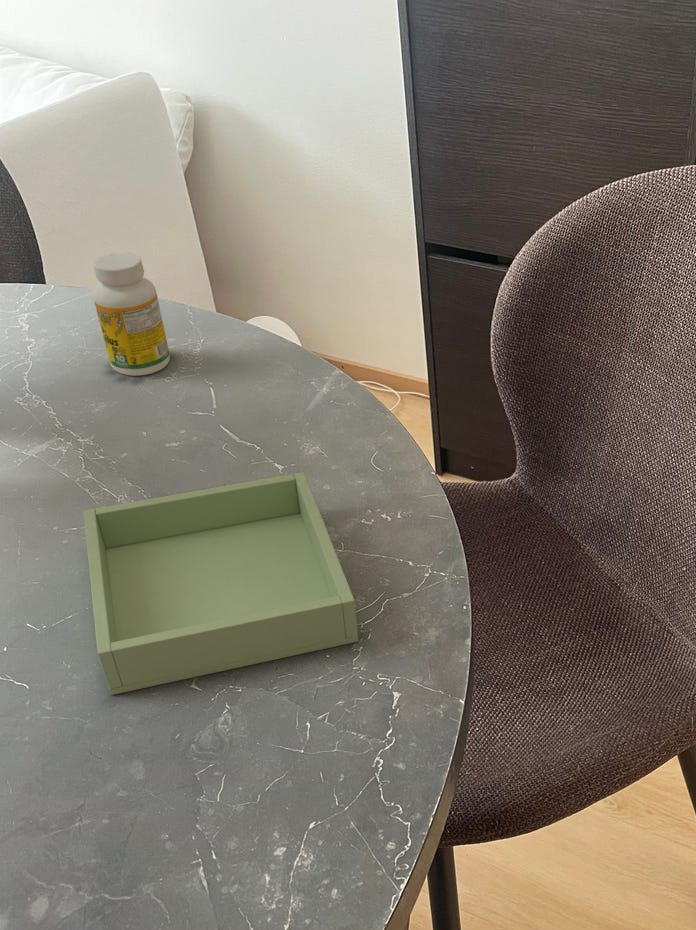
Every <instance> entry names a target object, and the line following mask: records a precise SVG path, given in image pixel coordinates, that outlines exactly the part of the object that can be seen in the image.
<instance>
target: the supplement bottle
mask: <svg viewBox="0 0 696 930" xmlns="http://www.w3.org/2000/svg"><path fill="white" fill-rule="evenodd" d="M93 270H94V273H95V274H94V275H95V277H96V279H97V281H98V284H97V285H96V286H95V287H94V289H93V294H92V295H93V302H94V306H95V309H96V310H95V311H96V314H97V318H98V321H99V324H100V329H101V332H102V336H103V341H104V345H105V348H106V353H107V356H108V360H109V364H110V366H111V368H112V369H113V371H115V372H117V373H119V374H121V375H126V376H130V377H131V376H133V377H135V376H136V377H137V376H146V375H147V376H148V375H151V374H154V373H157V372H159V371H161V370H162V369H164V368H165V367H166V366H167V365H168V364H169V362H170V359H171V355H170V354H171V353H170V349H169V345H168V340H167V335H166V331H165V326H164V322H163V317H162V312H161V307H160V303H159V298H158V293H157V289H156V286H155V284H154V283H152V281H151V280H149V279H148V278H147V277H144V276H145V268H144V265H143V262H142V258H141V256H140V255H138V254H135V253H131V252H112V253H107V254H104V255H101V256H99V257H97V258H96V259H95V260H94V261H93Z"/></svg>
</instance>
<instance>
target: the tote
mask: <svg viewBox="0 0 696 930" xmlns="http://www.w3.org/2000/svg"><path fill="white" fill-rule="evenodd" d="M82 514H83V521H84V523H83V524H84V531H85V541H86V551H87V560H88V572H89V581H90V591H91V601H92V611H93V622H94V630H95V641H96V650H97V652H96V653H97V656H98V659H99V662H100V665H101V669H102V672H103V675H104V677H105V681H106V684H107V687H108V689H109V693H110V695H111V696H115V695H119V694H122V693H128V692H133V691H137V690H142V689H147V688H150V687H156V686H160V685H164V684H165V685H166V684H169V683H173V682H178V681H179V682H180V681H183V680H188V679H192V678H197V677H201V676H205V675H210V674H215V673H220V672H225V671H229V670H235V669H239V668H243V667H248V666H253V665H257V664H261V663H266V662H270V661H274V660H279V659H285V658H289V657H294V656H298V655H302V654H307V653H313V652H316V651H321V650H326V649H331V648H335V647H339V646H344V645H349V644H353V643H358V642H359V632H358V631H359V630H358V619H357V609H356V601H355V598H354V595H353V592H352V590H351V588H350V585H349V583H348V580H347V578H346V575H345V572H344V570H343V566H342V565H341V562H340V560H339V556H338V554H337V551H336V550H335V549H336V548H335V546H334V544H333V541H332V539H331V537H330V534H329V531H328V530H327V526H326V524H325V521H324V519H323V517H322V514H321V511H320V508H319V506H318V504H317V500H316V498H315V496H314V493H313V491H312V488H311V486H310V483H309V481H308V478H307V476H306V473H305V472H304V471H302V472H296V473H291V474H285V475H278V476H272V477H267V478H262V479H255V480H250V481H244V482H238V483H232V484H227V485H222V486H221V485H220V486H216V487H209V488H204V489H198V490H193V491H187V492H179V493H174V494H169V495H165V496H164V495H163V496H158V497H151V498H147V499H141V500H135V501H134V500H133V501H129V502H124V503H119V504H117V503H116V504H112V505H106V506H100V507H96V508H89V509H84V510H83V513H82Z"/></svg>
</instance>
